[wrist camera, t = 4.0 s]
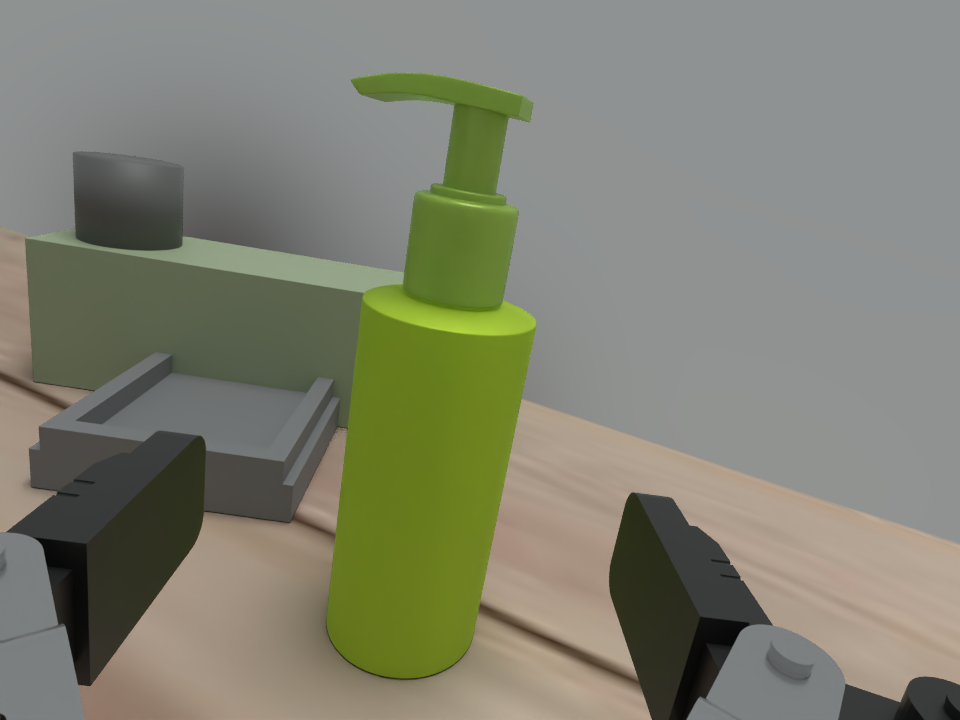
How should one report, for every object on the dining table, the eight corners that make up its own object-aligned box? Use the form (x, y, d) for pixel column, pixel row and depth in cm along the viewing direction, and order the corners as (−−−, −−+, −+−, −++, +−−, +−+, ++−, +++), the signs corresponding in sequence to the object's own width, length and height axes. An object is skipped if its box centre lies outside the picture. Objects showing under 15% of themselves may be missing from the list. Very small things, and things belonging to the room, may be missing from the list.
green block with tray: (435, 542, 30) (483, 257, 26) (-126, 465, 29) (-174, 147, 24) (449, 396, 48) (479, 213, 44) (104, 344, 47) (100, 148, 42)
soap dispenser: (343, 551, 29) (398, 80, 22) (488, 596, 27) (589, 111, 21) (271, 639, 23) (318, 48, 17) (449, 701, 22) (570, 86, 16)
